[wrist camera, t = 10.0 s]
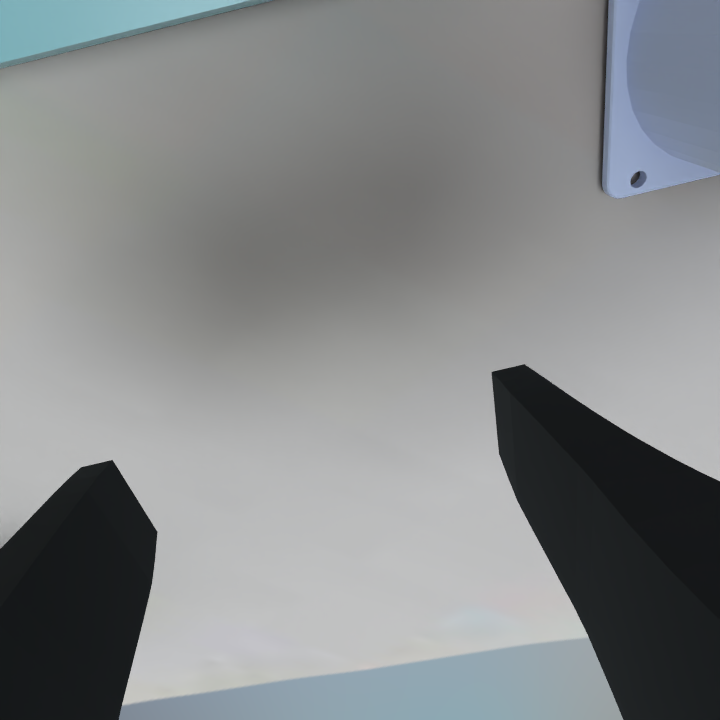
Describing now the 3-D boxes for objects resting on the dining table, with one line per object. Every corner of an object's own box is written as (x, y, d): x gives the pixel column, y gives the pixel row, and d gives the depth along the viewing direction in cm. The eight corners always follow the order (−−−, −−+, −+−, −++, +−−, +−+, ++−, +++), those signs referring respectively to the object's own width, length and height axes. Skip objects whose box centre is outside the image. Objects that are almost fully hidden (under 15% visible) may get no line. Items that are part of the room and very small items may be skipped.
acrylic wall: (489, -115, 13) (535, -146, 11) (493, -56, 14) (536, -73, 12) (-274, 79, 14) (-401, 91, 11) (-237, 128, 15) (-348, 150, 12)
